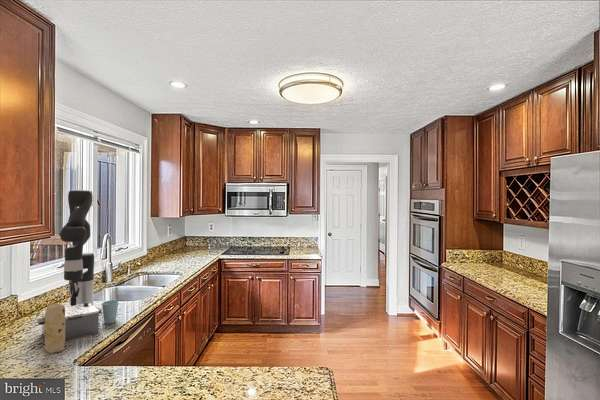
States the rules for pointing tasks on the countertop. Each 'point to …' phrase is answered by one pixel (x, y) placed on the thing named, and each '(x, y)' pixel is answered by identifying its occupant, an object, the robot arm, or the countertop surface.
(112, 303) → the cup
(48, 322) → the food model
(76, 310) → the lid
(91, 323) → the cooker pot
